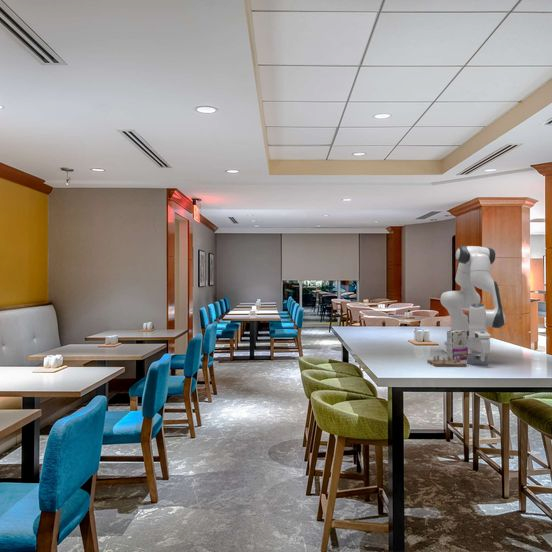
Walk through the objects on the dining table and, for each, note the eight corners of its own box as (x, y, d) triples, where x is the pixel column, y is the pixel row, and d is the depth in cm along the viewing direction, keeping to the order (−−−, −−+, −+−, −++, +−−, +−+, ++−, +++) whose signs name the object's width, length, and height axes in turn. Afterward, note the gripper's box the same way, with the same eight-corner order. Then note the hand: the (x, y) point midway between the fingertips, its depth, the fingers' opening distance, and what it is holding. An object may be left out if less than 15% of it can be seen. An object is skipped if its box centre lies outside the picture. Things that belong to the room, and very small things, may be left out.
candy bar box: (461, 357, 275) (461, 329, 276) (468, 359, 271) (467, 330, 271) (446, 359, 271) (446, 330, 271) (452, 360, 266) (452, 331, 267)
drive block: (466, 363, 256) (466, 354, 256) (482, 363, 257) (482, 354, 257) (471, 365, 251) (471, 355, 251) (487, 365, 252) (487, 355, 252)
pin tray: (427, 362, 260) (427, 354, 260) (456, 362, 260) (456, 354, 260) (436, 366, 246) (436, 358, 246) (466, 366, 246) (466, 358, 246)
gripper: (463, 332, 264) (464, 356, 264) (480, 335, 244) (480, 362, 244) (475, 332, 264) (475, 356, 264) (492, 335, 244) (492, 362, 244)
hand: (478, 359), depth 254 cm, fingers open, 8 cm apart
